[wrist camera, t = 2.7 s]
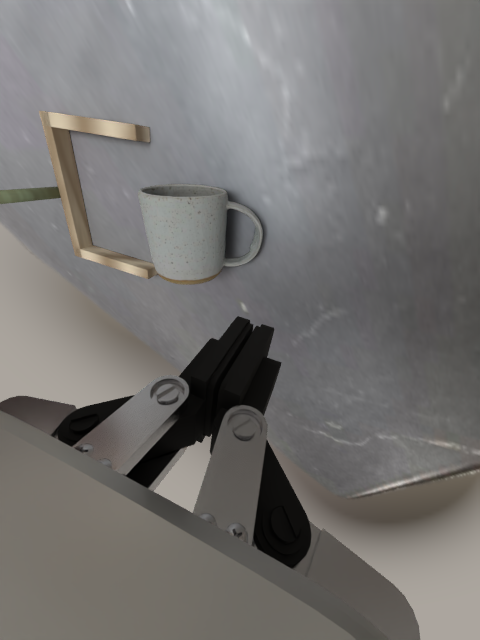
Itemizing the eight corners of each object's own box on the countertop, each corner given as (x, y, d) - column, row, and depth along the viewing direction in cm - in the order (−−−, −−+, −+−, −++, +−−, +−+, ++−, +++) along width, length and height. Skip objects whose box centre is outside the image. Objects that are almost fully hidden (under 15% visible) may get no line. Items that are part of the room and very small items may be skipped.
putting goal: (149, 127, 24) (48, 107, 16) (158, 273, 33) (95, 307, 25) (49, 112, 27) (-76, 90, 20) (81, 249, 36) (3, 272, 28)
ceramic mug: (179, 258, 31) (136, 281, 24) (171, 182, 26) (117, 187, 20) (262, 273, 28) (237, 303, 21) (269, 189, 23) (240, 197, 17)
